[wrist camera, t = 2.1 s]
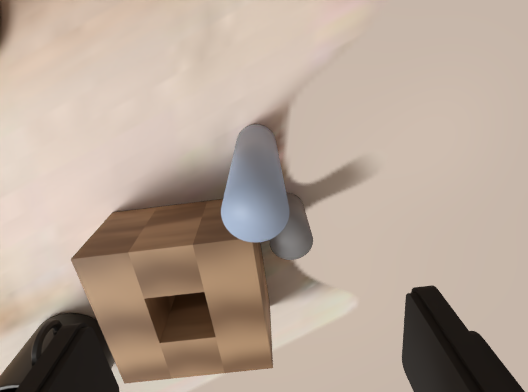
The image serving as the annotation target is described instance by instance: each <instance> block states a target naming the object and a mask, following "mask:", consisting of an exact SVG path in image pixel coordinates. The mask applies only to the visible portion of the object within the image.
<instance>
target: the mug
mask: <svg viewBox="0 0 528 392" xmlns="http://www.w3.org/2000/svg"><path fill="white" fill-rule="evenodd" d="M75 323H86V324H87V325H88V326H89V327H92V328H93V329H94V331H95V334H96V336H97V338H98V340H99V343H100V345H101V347H102V350H103V352H104V354H105V356H106V359H107V361H108V363H109V366H110V368H112V366H113V364H114V361H115V360H114V358H113V356H112V353H111V351H110V349H109V346H108V344H107V342H106V339H105V337H104V335H103V333H102V330H101V328H100V326H99V323H98V321H97V320H96V319H93V318H91V317H88V316H85V315H80V314H60V315H57V316H54V317H52V318H49V319H48V320H46V321H45V322H43V323H42V324H41V325H40V326H39V327H38V329H37V330H36V331H35V333H34V334H33V335H32V336H31V338H30V339H29V340H28V341H27V343H26V344H25V345H24V346H23V348H22V349H21V350H20V352H19V353H18V354H17V355H16V357H15V358H14V359H13V360H12V362H11V363H10V364H9V365H8V367H7V368H6V369H5V371H4V372H3V373H2V374H1V376H0V392H15V391H16V389H17V388H18V387H19V385H20V384H21V382H22V381H23V380H24V378H25V377H26V375H27V374H28V373H29V371H30V370H31V368H32V367H33V366H34V364H35V363H36V361H37V360H38V359H39V357H40V356H41V354H42V353H43V352H44V350H45V349H46V347H47V346H48V345H49V343H50V342H51V340H52V339H53V338H54V336H55V335H56V333H57V332H58V331H59V329H60V328H61V327H62V326H63V325H66V324H75Z"/></svg>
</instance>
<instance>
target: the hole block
mask: <svg viewBox="0 0 528 392" xmlns="http://www.w3.org/2000/svg"><path fill="white" fill-rule="evenodd" d="M222 202H223V199H219V200H210V201H202V202H194V203H186V204H178V205H170V206H161V207H153V208H145V209H137V210H129V211H121V212H113V213H112V214H111V215H110V216H109V217H108V218H107V219H106V220H105V222H104V223H103V224H102V225H101V226H100V227H99V228H98V229H97V230H96V232H95V233H94V234H93V235H92V236H91V237H90V238H89V239H88V241H87V242H86V243H85V244H84V245H83V246H82V247H81V248H80V250H79V251H78V252H77V253H76V254H75V255H74V256H73V257H72V258H71V261H72V263H73V265H74V268H75V270H76V272H77V275H78V277H79V279H80V282H81V284H82V286H83V289H84V291H85V293H86V295H87V298H88V300H89V302H90V305H91V307H92V309H93V312H94V314H95V316H96V319H97V321H98V323H99V326H100V328H101V330H102V333H103V335H104V337H105V339H106V342H107V344H108V346H109V349H110V351H111V353H112V356H113V358H114V360H115V363H116V365H117V367H118V370H119V372H120V374H121V377H122V379H123V381H124V383H133V382H142V381H152V380H162V379H171V378H181V377H191V376H200V375H210V374H219V373H229V372H239V371H247V370H258V369H268V368H273V360H272V339H271V318H270V304H269V297H268V290H267V284H266V277H265V271H264V264H263V258H262V251H261V244H260V242H247V241H243V240H241V239H238V238H237V237H235V236H234V235H232V234H231V233H230V232H229V231H228V230H227V228H226V227H225V225H224V223H223V221H222V217H221V207H222Z"/></svg>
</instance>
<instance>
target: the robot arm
mask: <svg viewBox="0 0 528 392" xmlns="http://www.w3.org/2000/svg"><path fill="white" fill-rule="evenodd" d="M402 363H403V368H404V371H405V373H406V376H407V378H408V380H409V382H410V384H411V386H412V389H413V391H414V392H525V391H524V390H523V389H522V388H521V386H520V385H519V384H518V382H517V381H516V380H515V379H514V377H513V376H512V375H511V373H510V372H509V371H508V370H507V368H506V367H505V366H504V365H503V363H502V362H501V361H500V359H499V358H498V357H497V355H496V354H495V353H494V352H493V350H492V349H491V348H490V346H489V345H488V344H487V343H486V341H485V340H484V339H483V338H482V337H481V336H480V334H478V333H477V332H475V331H468V329H467V328H466V327H465V325H464V324H463V322H462V321H461V320H460V319H459V317H458V316H457V314H456V313H455V312H454V310H453V309H452V308H451V306H450V305H449V304H448V302H447V301H446V300H445V299H444V297H443V296H442V294H441V293H440V292H439V290H438V289H437V288H436V287H435V286H425V287H416V288H413V289H412V292H411V293H408V294H407V295H406V303H405V318H404V334H403V350H402ZM15 392H119V386H118V384H117V382H116V379H115V377H114V375H113V372H112V370H111V368H110V366H109V363H108V361H107V359H106V356H105V354H104V352H103V350H102V347H101V345H100V343H99V340H98V338H97V336H96V334H95V331H94V329H93V328H92V327H89V326H88V325H87V324H86V323H75V324H66V325H63V326H62V327H61V328H60V329H59V331H58V332H57V333H56V335H55V336H54V338H53V339H52V340H51V342H50V343H49V345H48V346H47V347H46V349H45V350H44V352H43V353H42V354H41V356H40V357H39V359H38V360H37V361H36V363H35V364H34V366H33V367H32V368H31V370H30V371H29V373H28V374H27V375H26V377H25V378H24V380H23V381H22V382H21V384H20V385H19V387H18V388H17V389H16V391H15Z"/></svg>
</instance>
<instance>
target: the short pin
mask: <svg viewBox="0 0 528 392" xmlns="http://www.w3.org/2000/svg"><path fill="white" fill-rule="evenodd" d="M286 194H287V199H288V204H289V219H288V222H287V224H286V226H285V228H284V229H283V230H282V231H281V232H280V233H279V234H278V235H277V236H276V237H274V238H272V239H270V240H269V241H270V247H271V249H272V251H273V252H274V254H275V255H277V256H278V257H280V258H282V259H287V260H294V259H298V258H301V257H303V256H304V255H306V254H307V253H308V252H309V250H310V249H311V247H312V244H313V237H312V233H311V230H310V226H309V223H308V220H307V216H306V213H305V209H304V206H303V203H302V201H301V200H300V199H299V198H298V197H297V196H296V195H293V194H290V193H286Z"/></svg>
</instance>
